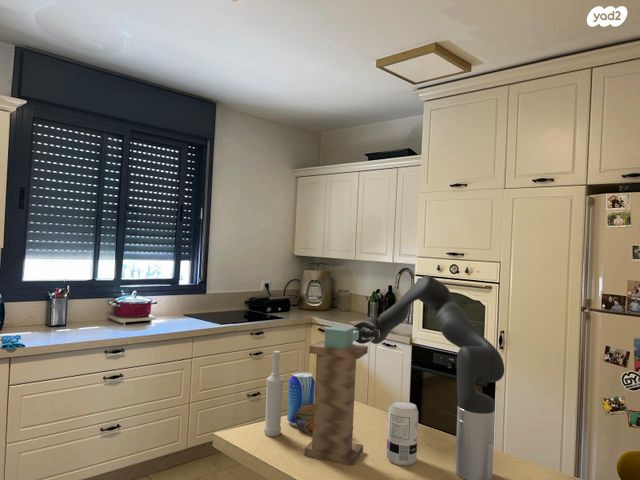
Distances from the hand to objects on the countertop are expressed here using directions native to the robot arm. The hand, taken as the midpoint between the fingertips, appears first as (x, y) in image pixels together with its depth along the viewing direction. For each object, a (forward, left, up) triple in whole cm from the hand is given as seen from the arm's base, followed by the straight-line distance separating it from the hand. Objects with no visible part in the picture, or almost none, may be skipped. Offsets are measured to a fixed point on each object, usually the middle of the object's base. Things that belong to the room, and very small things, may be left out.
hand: (353, 334), depth 151 cm
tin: (+8, +7, -31) cm, 32 cm away
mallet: (-2, +15, 0) cm, 15 cm away
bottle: (+20, +15, -31) cm, 39 cm away
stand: (-2, +20, -30) cm, 36 cm away
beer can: (+16, +3, -31) cm, 35 cm away
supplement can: (-20, +15, -31) cm, 40 cm away
